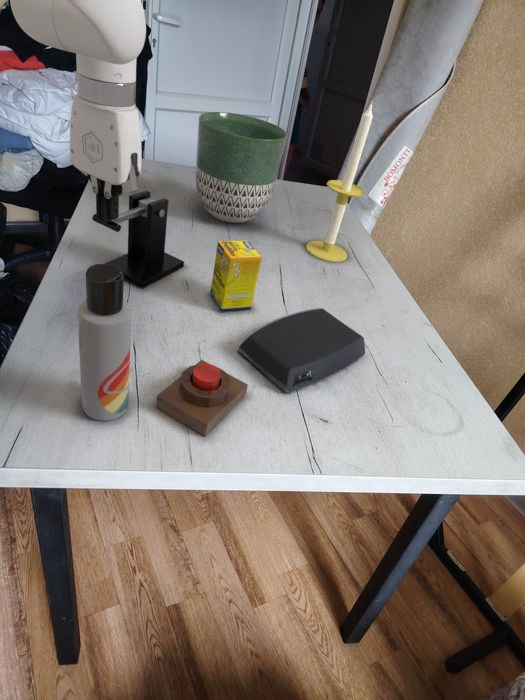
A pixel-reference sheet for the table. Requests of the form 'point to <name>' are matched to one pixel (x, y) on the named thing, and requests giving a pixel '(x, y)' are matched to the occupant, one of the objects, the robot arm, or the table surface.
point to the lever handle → (126, 215)
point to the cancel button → (206, 377)
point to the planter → (237, 164)
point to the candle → (342, 197)
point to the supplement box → (235, 275)
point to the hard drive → (302, 348)
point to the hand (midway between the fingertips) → (107, 218)
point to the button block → (201, 400)
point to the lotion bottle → (104, 344)
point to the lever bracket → (147, 245)
